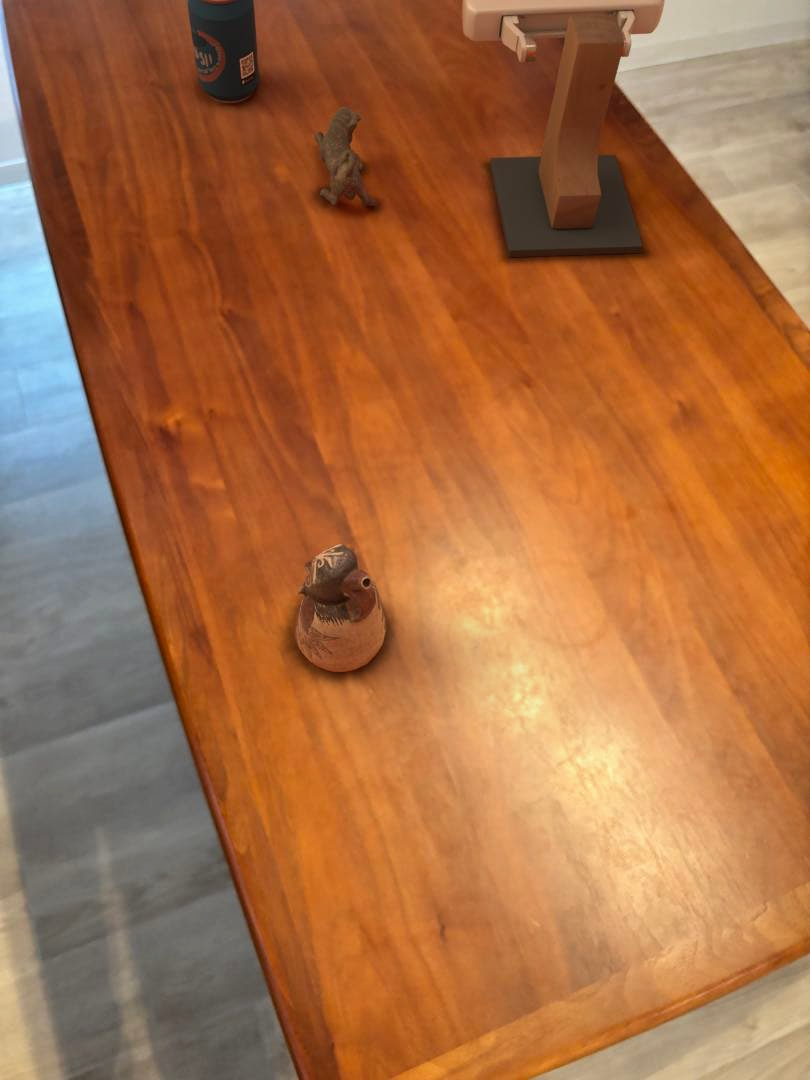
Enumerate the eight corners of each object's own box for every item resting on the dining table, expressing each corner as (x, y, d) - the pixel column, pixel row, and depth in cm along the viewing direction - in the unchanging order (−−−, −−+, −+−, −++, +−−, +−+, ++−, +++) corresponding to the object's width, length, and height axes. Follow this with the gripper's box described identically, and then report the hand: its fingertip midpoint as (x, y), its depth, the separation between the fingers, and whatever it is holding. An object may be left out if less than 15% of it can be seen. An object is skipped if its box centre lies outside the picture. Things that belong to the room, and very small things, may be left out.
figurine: (343, 578, 84) (343, 501, 73) (403, 635, 81) (412, 564, 71) (278, 631, 81) (268, 559, 71) (338, 692, 79) (337, 626, 68)
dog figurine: (379, 218, 105) (381, 159, 99) (324, 222, 104) (323, 163, 98) (364, 142, 111) (365, 82, 105) (311, 145, 110) (310, 85, 104)
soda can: (186, 86, 114) (170, -17, 104) (231, 60, 117) (220, -43, 107) (228, 115, 112) (216, 13, 102) (273, 87, 115) (266, -15, 104)
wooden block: (593, 229, 105) (636, 73, 89) (550, 230, 104) (587, 74, 89) (577, 170, 109) (616, 12, 94) (536, 171, 109) (569, 12, 93)
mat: (613, 162, 112) (615, 154, 111) (640, 253, 105) (643, 246, 104) (489, 165, 110) (490, 157, 109) (508, 257, 103) (509, 250, 102)
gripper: (452, -59, 101) (473, 28, 94) (649, -67, 103) (684, 18, 96) (447, 0, 106) (467, 87, 100) (635, -8, 108) (667, 76, 102)
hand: (575, 53), depth 98 cm, fingers open, 8 cm apart
